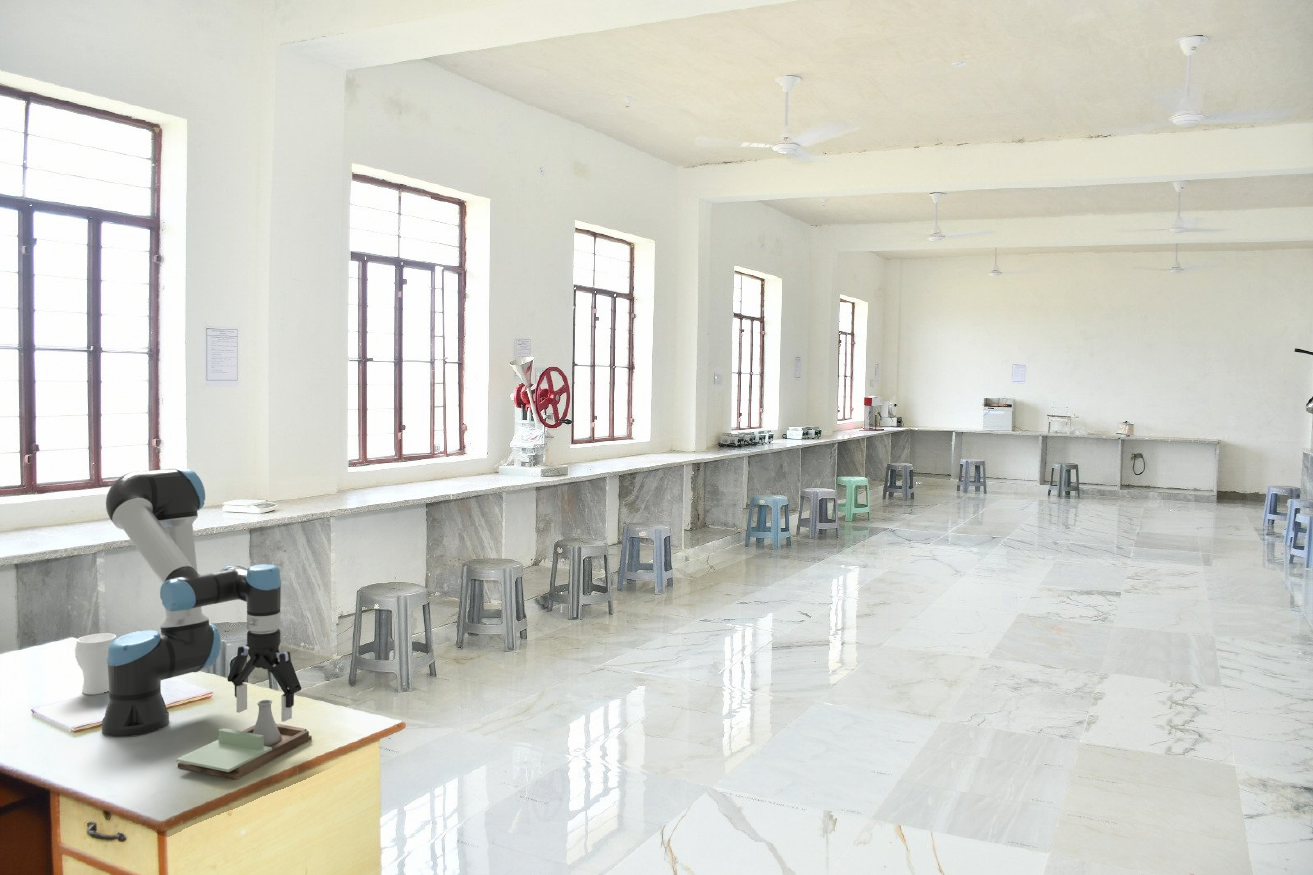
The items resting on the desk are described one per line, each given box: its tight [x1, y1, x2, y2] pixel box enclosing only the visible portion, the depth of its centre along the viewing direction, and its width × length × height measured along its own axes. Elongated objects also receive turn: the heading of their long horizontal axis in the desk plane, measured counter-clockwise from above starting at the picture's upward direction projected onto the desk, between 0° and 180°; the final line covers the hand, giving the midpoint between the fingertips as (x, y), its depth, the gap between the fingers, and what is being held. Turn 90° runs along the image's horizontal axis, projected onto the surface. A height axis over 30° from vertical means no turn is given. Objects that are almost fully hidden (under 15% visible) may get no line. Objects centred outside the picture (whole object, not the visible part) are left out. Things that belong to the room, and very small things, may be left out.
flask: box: [253, 699, 282, 746], centre depth 238 cm, size 7×7×10 cm
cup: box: [74, 632, 118, 695], centre depth 275 cm, size 11×11×15 cm
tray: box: [177, 723, 313, 780], centre depth 234 cm, size 17×25×2 cm
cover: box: [176, 727, 272, 772], centre depth 226 cm, size 15×14×4 cm
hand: (264, 715), depth 238 cm, fingers open, 13 cm apart
